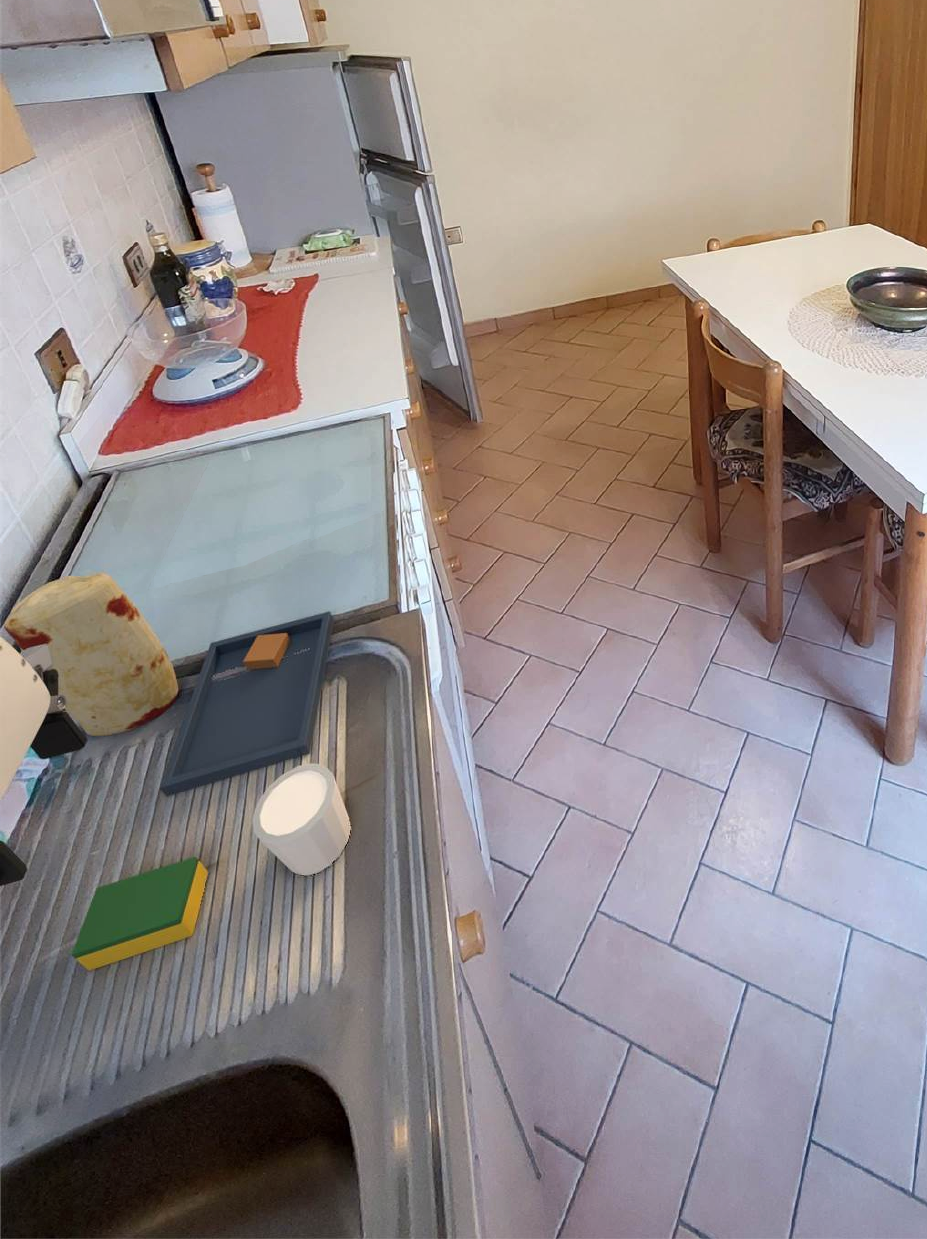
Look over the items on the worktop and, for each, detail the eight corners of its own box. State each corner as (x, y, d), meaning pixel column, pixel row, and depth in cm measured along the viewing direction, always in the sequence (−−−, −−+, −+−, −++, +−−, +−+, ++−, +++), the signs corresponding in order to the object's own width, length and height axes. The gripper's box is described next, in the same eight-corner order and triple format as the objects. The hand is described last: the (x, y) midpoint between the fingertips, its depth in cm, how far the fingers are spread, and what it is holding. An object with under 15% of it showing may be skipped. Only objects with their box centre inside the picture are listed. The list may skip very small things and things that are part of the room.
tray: (168, 799, 73) (159, 787, 72) (217, 654, 88) (210, 642, 87) (311, 756, 75) (304, 744, 74) (335, 622, 90) (330, 610, 89)
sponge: (88, 971, 61) (70, 955, 59) (112, 904, 65) (96, 887, 64) (192, 936, 62) (177, 919, 61) (209, 872, 67) (196, 855, 65)
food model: (88, 762, 77) (-16, 637, 67) (94, 713, 82) (-2, 590, 73) (192, 712, 81) (108, 587, 72) (192, 668, 86) (113, 546, 77)
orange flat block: (247, 669, 85) (242, 661, 84) (262, 643, 88) (257, 635, 87) (277, 667, 85) (273, 659, 84) (291, 640, 88) (287, 632, 87)
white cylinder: (283, 821, 70) (256, 780, 67) (358, 791, 72) (336, 750, 68) (276, 898, 64) (245, 858, 61) (357, 864, 66) (332, 822, 63)
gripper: (-79, 579, 53) (35, 721, 62) (-283, 821, 39) (-97, 965, 47) (37, 554, 55) (134, 696, 63) (-116, 777, 40) (36, 925, 48)
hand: (36, 811), depth 55 cm, fingers open, 9 cm apart
